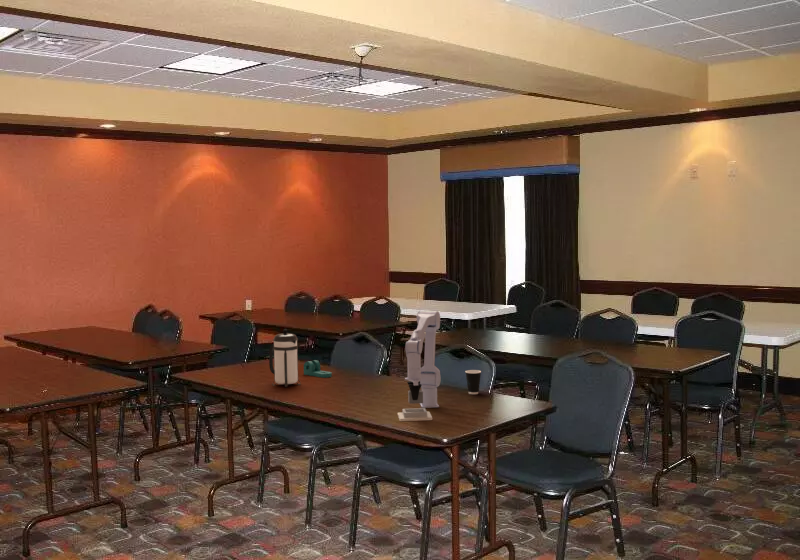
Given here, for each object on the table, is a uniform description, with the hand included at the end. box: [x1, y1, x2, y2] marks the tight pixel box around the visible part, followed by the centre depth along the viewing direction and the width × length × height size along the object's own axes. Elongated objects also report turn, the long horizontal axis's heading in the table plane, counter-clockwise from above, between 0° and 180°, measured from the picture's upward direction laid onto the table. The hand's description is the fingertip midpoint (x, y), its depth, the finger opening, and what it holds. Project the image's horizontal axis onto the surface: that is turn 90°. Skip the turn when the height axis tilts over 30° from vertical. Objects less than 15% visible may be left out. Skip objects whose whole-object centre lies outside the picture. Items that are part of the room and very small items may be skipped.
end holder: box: [397, 407, 433, 422], centre depth 353 cm, size 12×14×3 cm
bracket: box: [303, 359, 333, 379], centre depth 457 cm, size 18×7×8 cm, turn 48°
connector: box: [407, 389, 423, 405], centre depth 353 cm, size 4×6×5 cm, turn 95°
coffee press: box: [268, 328, 301, 388], centre depth 430 cm, size 17×16×30 cm
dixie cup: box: [464, 369, 482, 395], centre depth 401 cm, size 8×8×11 cm
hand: (414, 398), depth 353 cm, fingers closed on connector, 4 cm apart
